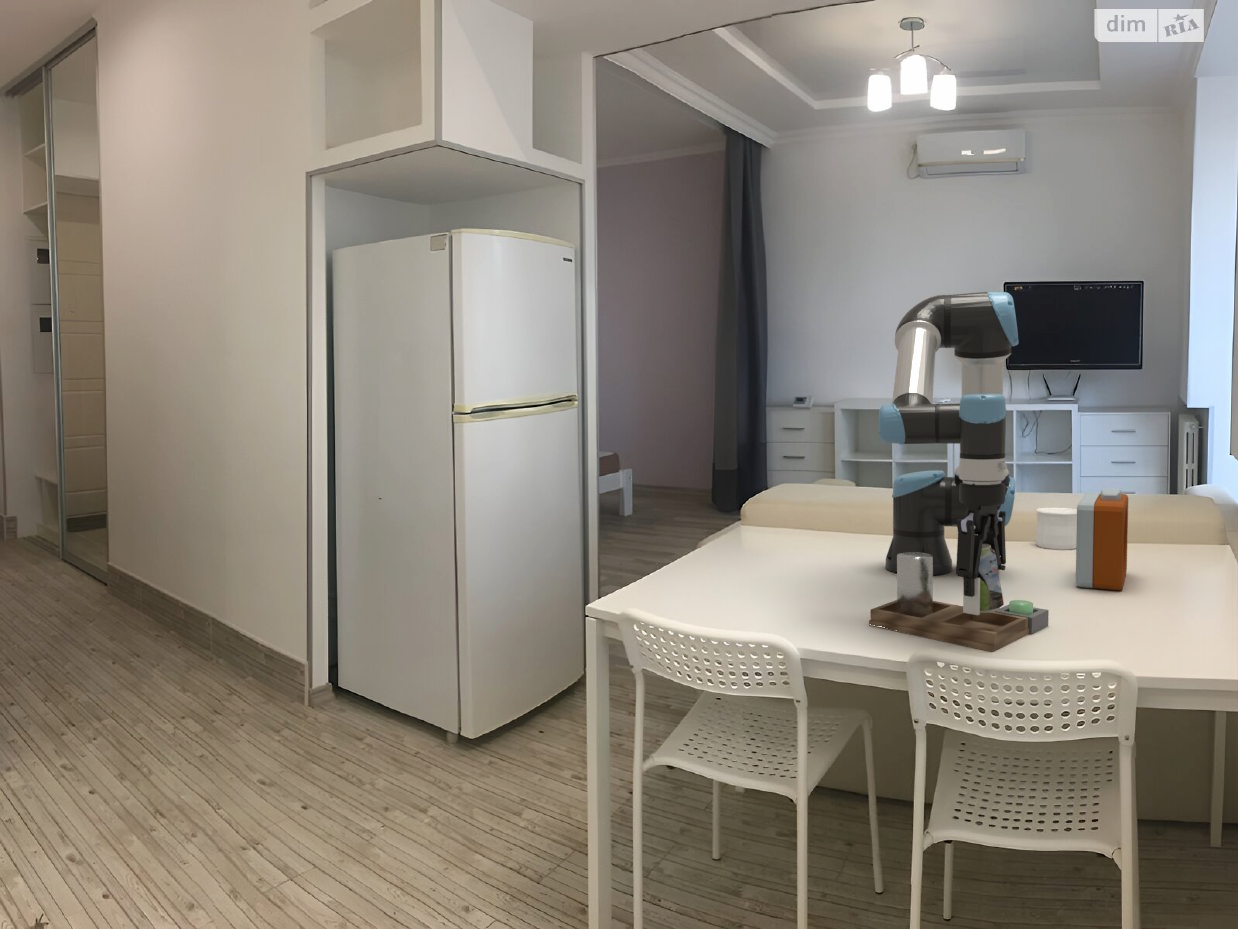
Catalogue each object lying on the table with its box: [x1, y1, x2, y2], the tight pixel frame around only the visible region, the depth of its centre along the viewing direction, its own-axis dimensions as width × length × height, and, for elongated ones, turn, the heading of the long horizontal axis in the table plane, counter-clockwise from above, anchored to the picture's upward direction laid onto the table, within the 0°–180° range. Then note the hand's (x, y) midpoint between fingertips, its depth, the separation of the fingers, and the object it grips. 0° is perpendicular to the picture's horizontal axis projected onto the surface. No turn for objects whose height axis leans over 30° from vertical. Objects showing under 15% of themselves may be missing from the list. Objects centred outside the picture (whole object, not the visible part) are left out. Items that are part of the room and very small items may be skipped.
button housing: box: [994, 604, 1050, 635], centre depth 166 cm, size 7×7×3 cm
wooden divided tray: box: [868, 599, 1030, 653], centre depth 165 cm, size 24×14×3 cm, turn 42°
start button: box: [1008, 599, 1034, 615], centre depth 165 cm, size 4×4×4 cm
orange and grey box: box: [1075, 487, 1129, 592], centre depth 196 cm, size 18×9×21 cm, turn 148°
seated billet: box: [896, 552, 934, 618], centre depth 170 cm, size 6×6×12 cm
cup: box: [1035, 507, 1077, 551], centre depth 233 cm, size 10×10×10 cm
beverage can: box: [977, 544, 1005, 613], centre depth 159 cm, size 6×7×12 cm
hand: (981, 609), depth 160 cm, fingers closed on beverage can, 7 cm apart
